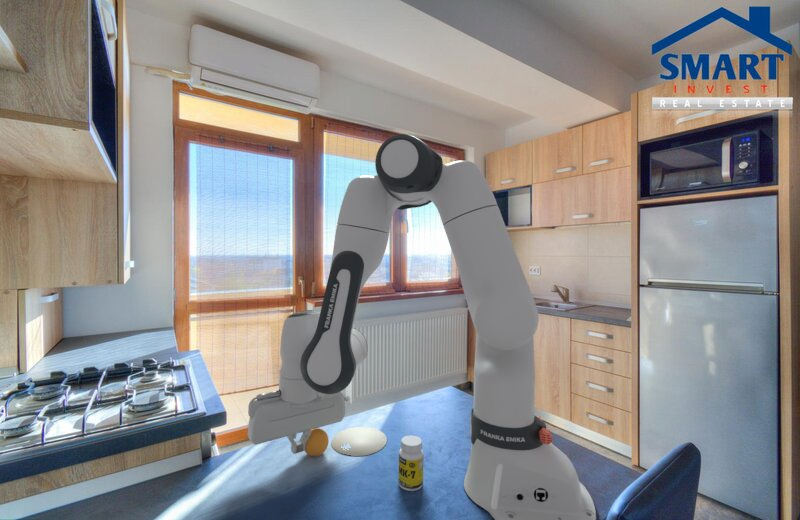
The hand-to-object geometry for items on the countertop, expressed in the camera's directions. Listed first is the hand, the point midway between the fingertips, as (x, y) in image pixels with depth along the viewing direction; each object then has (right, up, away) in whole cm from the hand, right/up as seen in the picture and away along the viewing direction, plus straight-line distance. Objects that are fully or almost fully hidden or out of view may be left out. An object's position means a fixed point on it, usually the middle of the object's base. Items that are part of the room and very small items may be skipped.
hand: (298, 451), depth 74 cm
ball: (+3, +1, +3) cm, 4 cm away
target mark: (+12, -2, +9) cm, 15 cm away
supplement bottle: (+24, -3, -7) cm, 25 cm away
